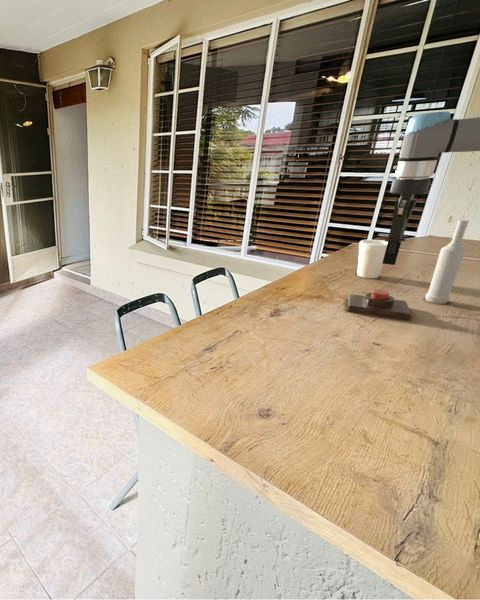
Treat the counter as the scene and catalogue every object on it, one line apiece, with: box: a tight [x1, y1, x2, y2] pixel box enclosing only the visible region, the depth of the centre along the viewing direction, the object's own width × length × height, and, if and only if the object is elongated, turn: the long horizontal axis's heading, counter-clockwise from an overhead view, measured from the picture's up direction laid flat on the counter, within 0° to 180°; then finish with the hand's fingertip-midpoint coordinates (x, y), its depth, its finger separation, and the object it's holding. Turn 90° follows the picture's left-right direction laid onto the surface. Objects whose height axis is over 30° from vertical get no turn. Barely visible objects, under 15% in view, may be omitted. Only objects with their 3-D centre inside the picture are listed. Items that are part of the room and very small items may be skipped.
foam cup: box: [356, 239, 388, 279], centre depth 131 cm, size 10×9×13 cm
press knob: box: [370, 289, 390, 300], centre depth 105 cm, size 4×4×2 cm
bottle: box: [425, 219, 470, 305], centre depth 105 cm, size 5×5×25 cm
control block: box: [347, 292, 412, 321], centre depth 106 cm, size 14×11×4 cm
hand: (388, 263), depth 101 cm, fingers closed
